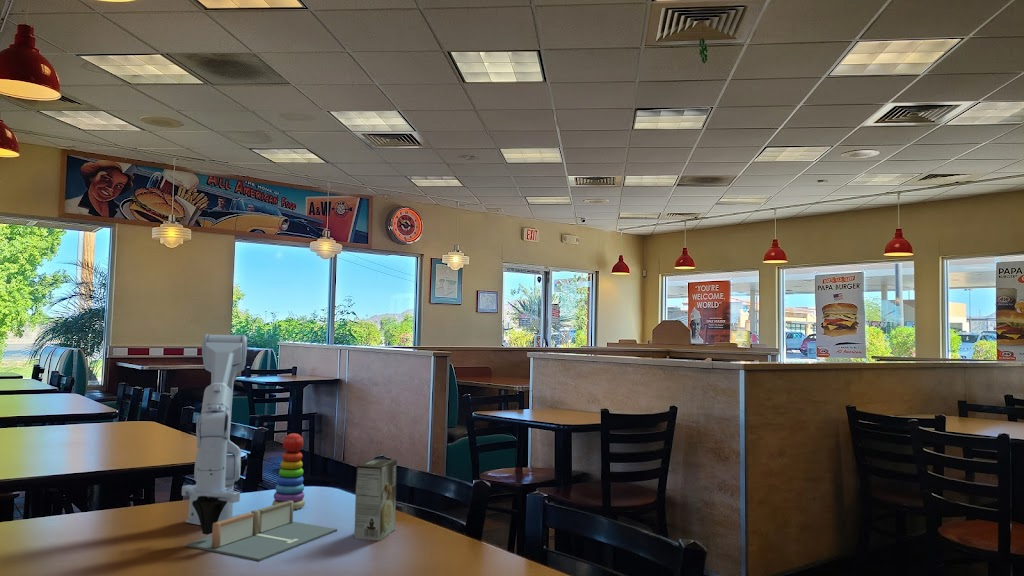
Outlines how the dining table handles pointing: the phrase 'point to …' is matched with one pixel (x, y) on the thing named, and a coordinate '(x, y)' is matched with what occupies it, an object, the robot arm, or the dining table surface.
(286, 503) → the fence fixed
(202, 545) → the mat
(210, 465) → the robot arm
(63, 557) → the dining table surface
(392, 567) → the dining table surface
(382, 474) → the coffee box
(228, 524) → the hinged fence panel
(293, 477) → the stacking toy
